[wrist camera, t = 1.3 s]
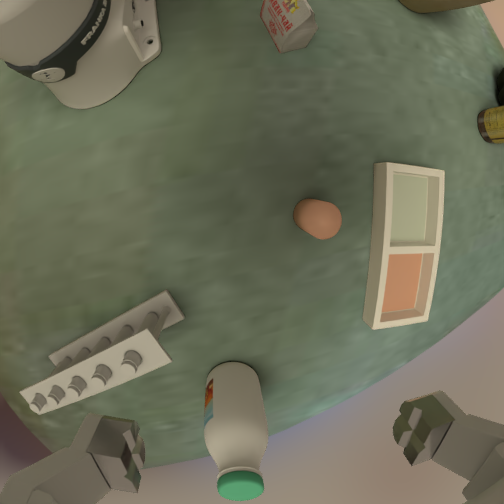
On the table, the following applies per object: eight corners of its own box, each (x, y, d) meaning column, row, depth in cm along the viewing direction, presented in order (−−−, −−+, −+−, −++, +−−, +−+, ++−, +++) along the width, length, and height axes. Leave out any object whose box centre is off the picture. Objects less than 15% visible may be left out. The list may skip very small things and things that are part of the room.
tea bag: (284, 10, 30) (301, -30, 20) (305, 47, 32) (329, 11, 22) (259, 15, 30) (270, -27, 20) (279, 53, 32) (297, 16, 22)
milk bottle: (223, 351, 40) (227, 466, 20) (268, 373, 41) (296, 483, 22) (197, 386, 41) (188, 497, 21) (240, 406, 42) (252, 512, 23)
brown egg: (293, 198, 36) (306, 201, 30) (324, 198, 36) (342, 202, 30) (292, 230, 37) (305, 239, 31) (323, 230, 37) (340, 239, 31)
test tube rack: (167, 288, 37) (142, 338, 24) (185, 316, 38) (170, 374, 25) (50, 354, 38) (11, 400, 25) (66, 374, 39) (32, 424, 26)
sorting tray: (373, 163, 36) (386, 162, 32) (429, 170, 37) (444, 170, 33) (362, 319, 41) (372, 329, 37) (415, 312, 42) (427, 320, 38)
